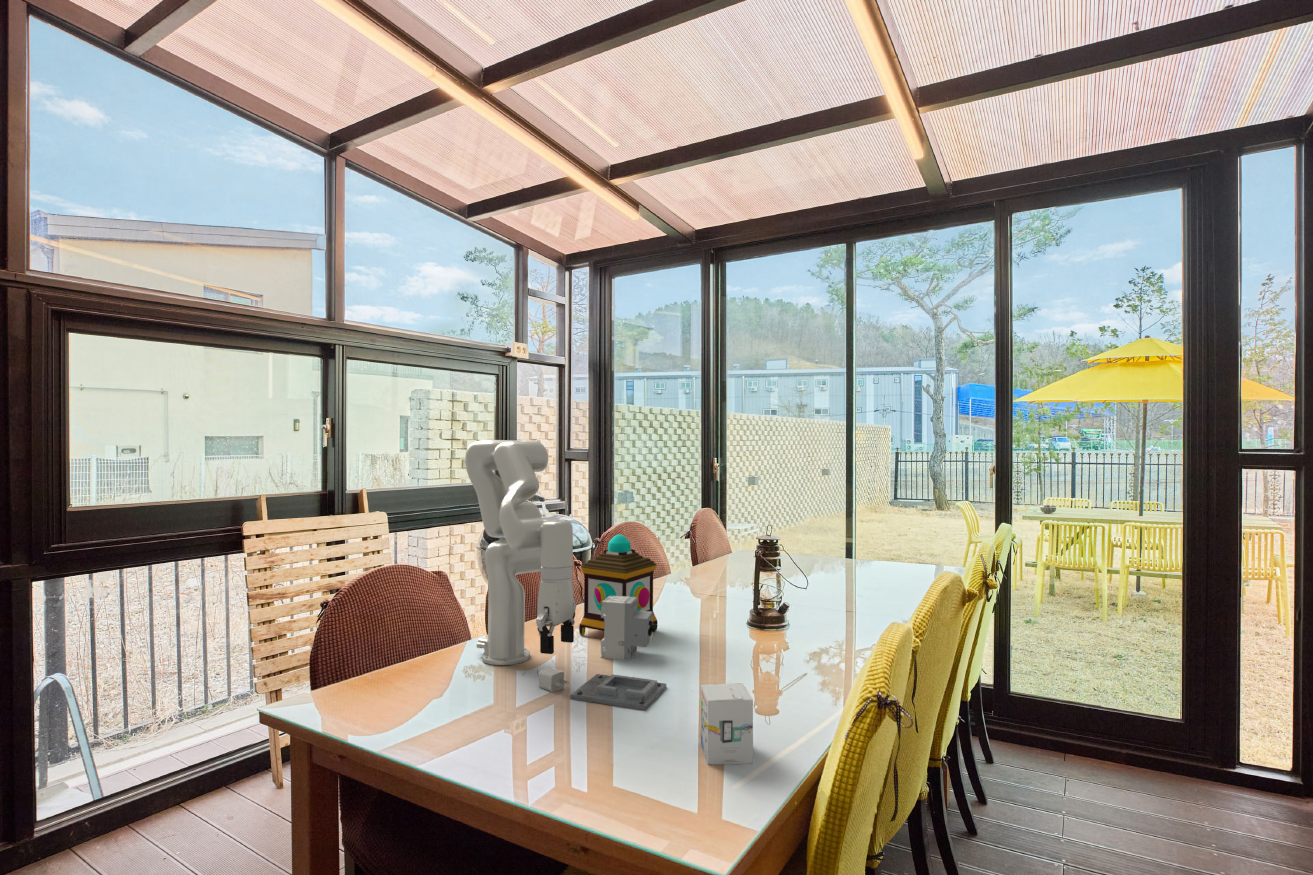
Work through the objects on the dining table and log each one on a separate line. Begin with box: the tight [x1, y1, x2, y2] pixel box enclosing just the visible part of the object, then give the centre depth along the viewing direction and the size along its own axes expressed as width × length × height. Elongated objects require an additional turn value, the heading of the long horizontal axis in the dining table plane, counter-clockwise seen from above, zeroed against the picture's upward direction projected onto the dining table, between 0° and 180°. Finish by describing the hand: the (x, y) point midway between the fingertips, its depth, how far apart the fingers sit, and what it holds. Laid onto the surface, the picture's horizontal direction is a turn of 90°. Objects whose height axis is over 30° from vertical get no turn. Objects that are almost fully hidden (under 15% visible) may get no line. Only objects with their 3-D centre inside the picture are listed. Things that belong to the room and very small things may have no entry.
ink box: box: [700, 682, 754, 766], centre depth 122 cm, size 8×8×12 cm
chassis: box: [570, 673, 667, 711], centre depth 151 cm, size 18×14×2 cm
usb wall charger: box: [538, 667, 570, 693], centre depth 153 cm, size 4×7×4 cm, turn 51°
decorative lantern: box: [578, 534, 658, 636], centre depth 199 cm, size 20×20×30 cm
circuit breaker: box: [600, 596, 658, 661], centre depth 178 cm, size 8×14×15 cm, turn 78°
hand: (557, 647), depth 152 cm, fingers open, 9 cm apart
